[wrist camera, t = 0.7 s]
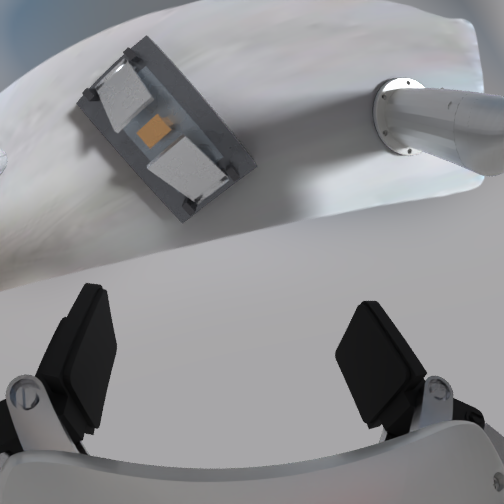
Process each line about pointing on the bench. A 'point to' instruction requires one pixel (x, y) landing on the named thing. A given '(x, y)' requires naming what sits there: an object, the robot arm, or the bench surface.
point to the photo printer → (2, 160)
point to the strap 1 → (123, 94)
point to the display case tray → (168, 126)
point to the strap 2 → (188, 170)
